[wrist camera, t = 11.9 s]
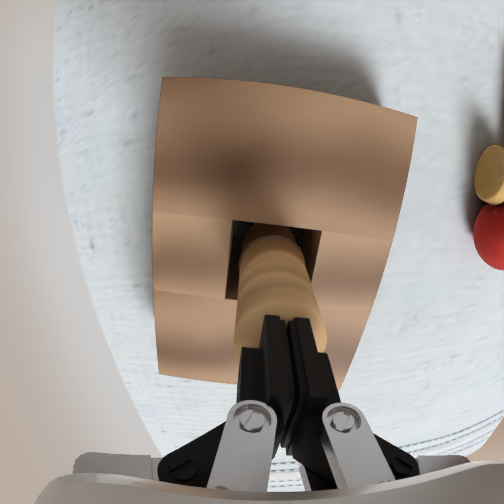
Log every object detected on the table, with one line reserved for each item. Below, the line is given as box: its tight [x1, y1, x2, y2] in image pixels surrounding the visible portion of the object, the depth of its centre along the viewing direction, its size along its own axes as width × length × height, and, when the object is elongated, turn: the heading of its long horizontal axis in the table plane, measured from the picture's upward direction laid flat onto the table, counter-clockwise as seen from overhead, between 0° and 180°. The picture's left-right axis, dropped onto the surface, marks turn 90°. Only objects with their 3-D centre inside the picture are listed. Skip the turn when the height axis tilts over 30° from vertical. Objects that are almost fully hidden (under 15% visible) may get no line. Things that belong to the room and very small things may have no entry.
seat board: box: [152, 77, 417, 389], centre depth 20 cm, size 20×14×5 cm
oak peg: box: [234, 223, 327, 360], centre depth 17 cm, size 4×4×12 cm
